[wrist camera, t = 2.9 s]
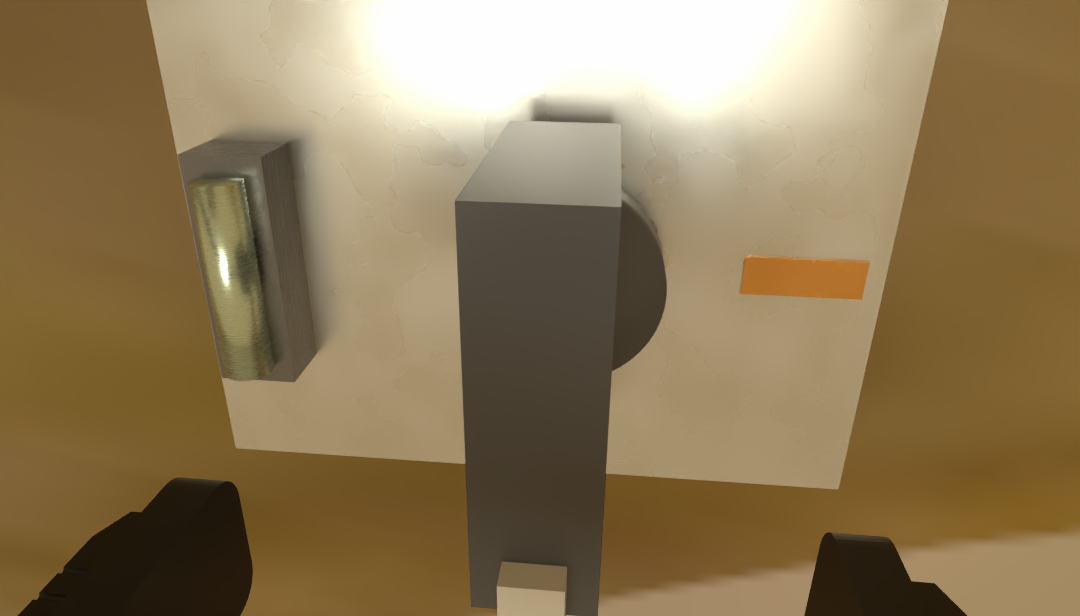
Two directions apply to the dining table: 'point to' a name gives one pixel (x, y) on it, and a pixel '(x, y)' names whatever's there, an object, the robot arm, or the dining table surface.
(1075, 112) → the dining table surface
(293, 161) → the levelling base
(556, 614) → the wing knob
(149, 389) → the dining table surface
